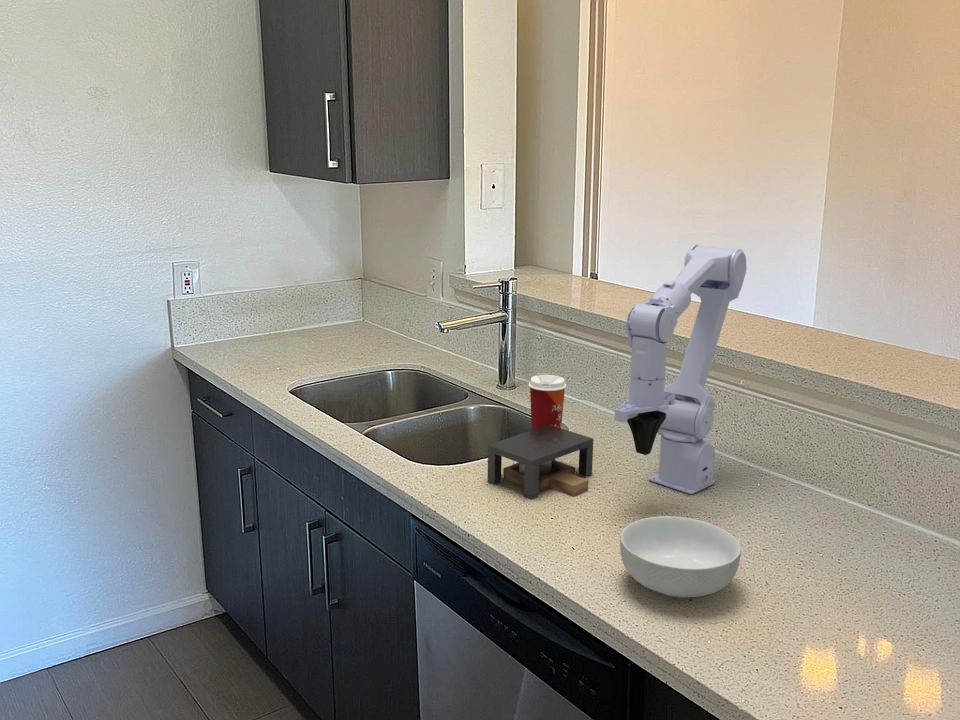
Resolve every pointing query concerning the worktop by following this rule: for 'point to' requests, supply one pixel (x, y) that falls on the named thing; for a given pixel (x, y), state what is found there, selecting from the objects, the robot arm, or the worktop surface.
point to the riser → (539, 454)
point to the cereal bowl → (679, 555)
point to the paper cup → (546, 400)
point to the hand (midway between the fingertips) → (643, 452)
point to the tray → (550, 477)
